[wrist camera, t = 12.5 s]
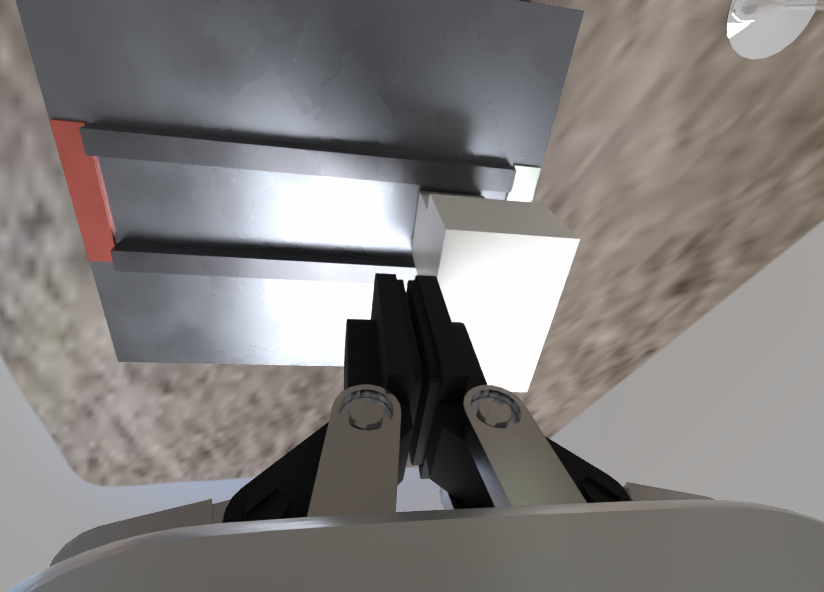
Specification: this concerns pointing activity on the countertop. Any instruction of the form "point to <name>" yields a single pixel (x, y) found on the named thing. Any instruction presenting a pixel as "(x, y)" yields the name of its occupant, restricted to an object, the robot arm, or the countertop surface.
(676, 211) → the countertop surface
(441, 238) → the handle
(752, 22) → the wineglass
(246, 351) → the slider base
